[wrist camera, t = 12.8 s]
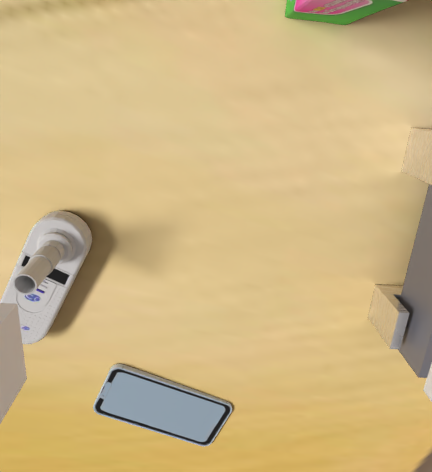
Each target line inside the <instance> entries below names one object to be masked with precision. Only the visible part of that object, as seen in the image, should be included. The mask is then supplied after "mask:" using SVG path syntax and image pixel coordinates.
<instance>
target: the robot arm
mask: <svg viewBox="0 0 432 472" xmlns="http://www.w3.org/2000/svg"><path fill="white" fill-rule="evenodd" d="M26 379H27V376H26V368H25V360H24V352H23V344H22V336H21V328H20V321H19V313H18V305H17V304H13V303H0V423H1V422H2V420H3V418H4V417H5V415H6V413H7V411H8V410H9V408H10V406H11V405H12V403H13V401H14V400H15V398H16V396H17V394H18V393H19V391H20V389H21V388H22V386H23V384H24V383H25V381H26ZM423 391H424V392H425V393H426V395H427V396H428V398H429V399H430V400H431V402H432V363H431V367H430V370H429V373H428V376H427V380H426V383H425V386H424V389H423Z"/></svg>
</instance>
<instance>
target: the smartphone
mask: <svg viewBox="0 0 432 472" xmlns="http://www.w3.org/2000/svg"><path fill="white" fill-rule="evenodd" d="M93 409H94V411H95V412H96V413H97V414H99V415H103V416H106V417H109V418H112V419H115V420H119V421H122V422H125V423H128V424H132V425H135V426H138V427H141V428H145V429H148V430H151V431H154V432H158V433H161V434H164V435H167V436H171V437H174V438H177V439H180V440H184V441H187V442H190V443H193V444H196V445H200V446H208V445H210V444H211V443H212V442H213V440H214V439H215V437H216V436H217V434H218V432H219V431H220V429H221V428H222V426H223V425H224V423H225V421H226V420H227V418H228V417H229V415H230V414H231V412H232V405H231V404H230V403H229V402H228V401H225V400H222V399H220V398H217V397H214V396H211V395H208V394H206V393H203V392H200V391H197V390H195V389H192V388H189V387H186V386H183V385H181V384H178V383H175V382H172V381H169V380H167V379H164V378H161V377H158V376H155V375H153V374H150V373H147V372H144V371H141V370H139V369H136V368H133V367H130V366H127V365H124V364H115V365H113V366H112V367H111V369H110V371H109V373H108V375H107V377H106V379H105V381H104V383H103V386H102V388H101V390H100V392H99V394H98V396H97V398H96V400H95V403H94V406H93Z"/></svg>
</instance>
